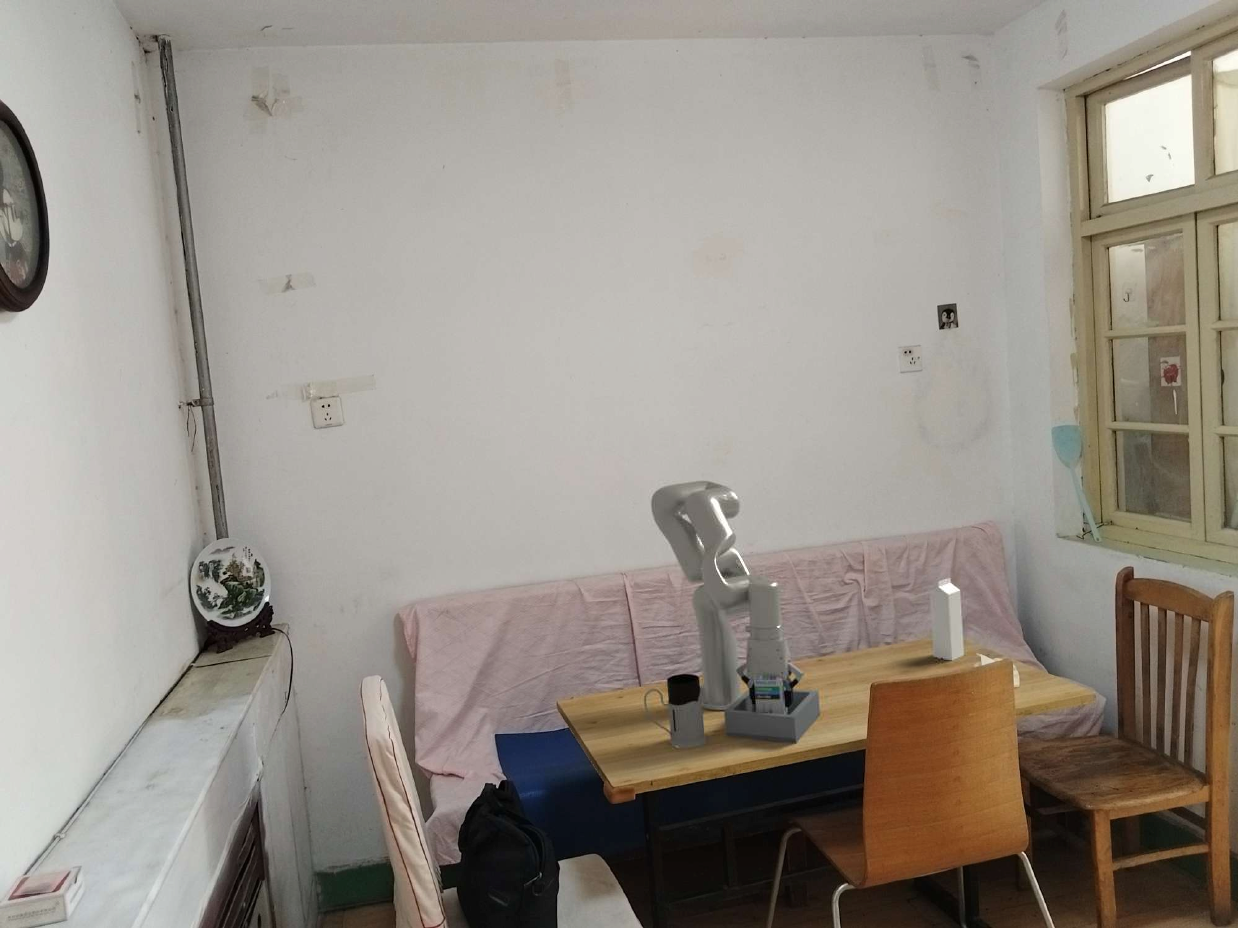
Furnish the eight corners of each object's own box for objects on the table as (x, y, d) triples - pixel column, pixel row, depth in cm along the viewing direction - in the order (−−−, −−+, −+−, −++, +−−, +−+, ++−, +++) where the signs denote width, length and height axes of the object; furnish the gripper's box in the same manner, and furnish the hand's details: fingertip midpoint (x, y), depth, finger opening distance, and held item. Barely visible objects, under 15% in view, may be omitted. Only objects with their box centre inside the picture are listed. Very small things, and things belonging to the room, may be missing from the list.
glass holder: (712, 743, 228) (707, 680, 227) (654, 755, 224) (648, 691, 223) (698, 731, 237) (693, 670, 235) (642, 742, 233) (637, 680, 231)
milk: (933, 657, 279) (928, 580, 277) (945, 652, 283) (940, 576, 281) (952, 660, 274) (947, 582, 272) (964, 655, 278) (959, 578, 276)
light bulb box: (785, 724, 230) (782, 679, 230) (756, 724, 232) (753, 679, 231) (787, 708, 241) (785, 665, 240) (760, 708, 242) (757, 665, 241)
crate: (726, 736, 232) (724, 711, 232) (753, 709, 249) (752, 686, 248) (796, 743, 224) (794, 717, 224) (819, 714, 241) (818, 690, 240)
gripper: (726, 634, 235) (732, 706, 237) (797, 638, 227) (802, 712, 229) (737, 626, 242) (743, 696, 244) (806, 629, 234) (811, 701, 235)
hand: (771, 703), depth 236 cm, fingers closed on light bulb box, 7 cm apart
